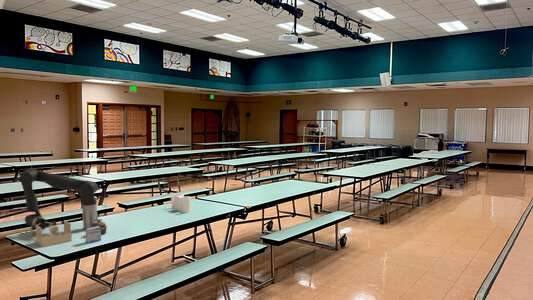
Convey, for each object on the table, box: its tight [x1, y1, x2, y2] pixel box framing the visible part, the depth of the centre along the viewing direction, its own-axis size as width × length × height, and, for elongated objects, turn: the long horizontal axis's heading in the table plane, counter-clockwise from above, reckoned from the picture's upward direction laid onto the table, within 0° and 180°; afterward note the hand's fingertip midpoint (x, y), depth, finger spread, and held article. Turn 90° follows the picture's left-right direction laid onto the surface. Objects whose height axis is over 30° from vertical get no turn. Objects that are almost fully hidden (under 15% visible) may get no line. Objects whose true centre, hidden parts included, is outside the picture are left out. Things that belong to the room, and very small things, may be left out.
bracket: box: [170, 193, 192, 214], centre depth 337 cm, size 25×10×12 cm, turn 36°
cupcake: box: [91, 218, 108, 236], centre depth 265 cm, size 10×10×10 cm
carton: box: [31, 219, 73, 248], centre depth 253 cm, size 17×25×11 cm
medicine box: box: [84, 226, 102, 244], centre depth 249 cm, size 8×4×9 cm, turn 138°
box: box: [49, 224, 60, 237], centre depth 248 cm, size 4×5×10 cm
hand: (46, 227), depth 259 cm, fingers open, 8 cm apart
